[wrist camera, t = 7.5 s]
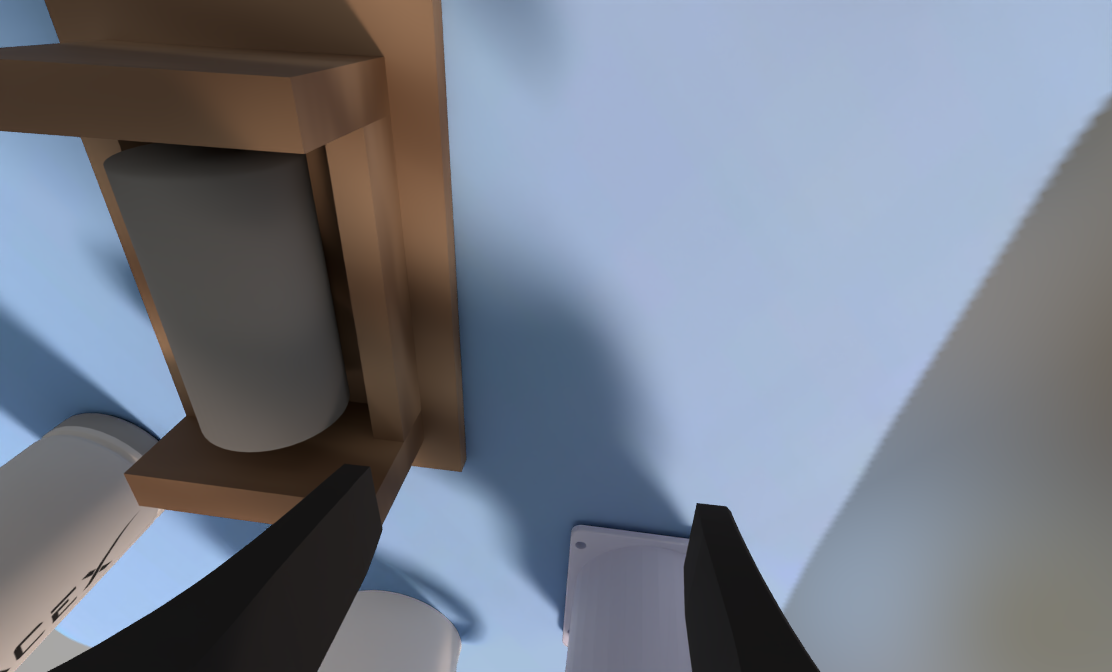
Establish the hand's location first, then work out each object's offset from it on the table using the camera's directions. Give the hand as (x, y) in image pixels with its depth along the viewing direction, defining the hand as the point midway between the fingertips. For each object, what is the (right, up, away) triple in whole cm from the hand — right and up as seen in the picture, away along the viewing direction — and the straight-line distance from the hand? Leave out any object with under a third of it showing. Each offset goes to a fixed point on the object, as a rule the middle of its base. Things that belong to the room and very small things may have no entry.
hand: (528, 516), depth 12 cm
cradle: (-9, +7, +9) cm, 14 cm away
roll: (-9, +7, +8) cm, 14 cm away
